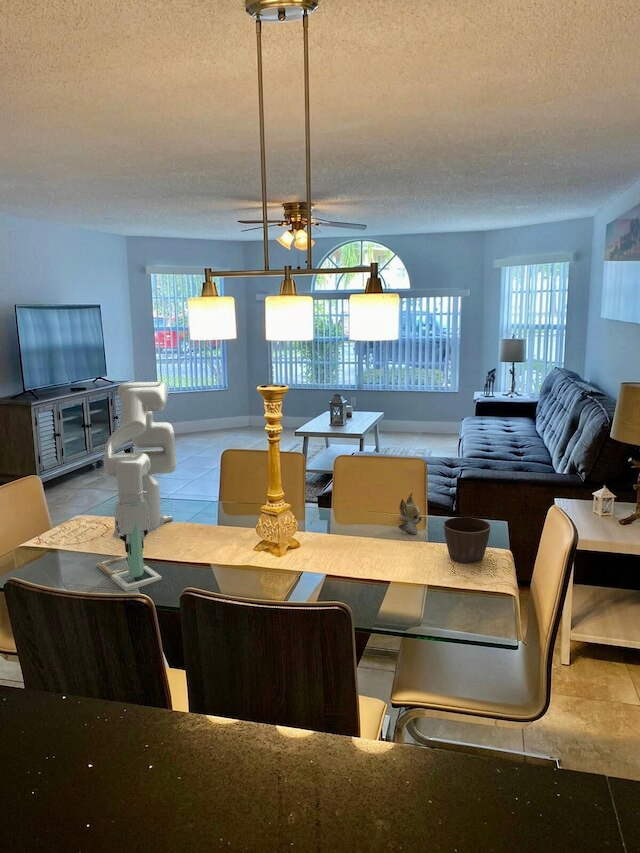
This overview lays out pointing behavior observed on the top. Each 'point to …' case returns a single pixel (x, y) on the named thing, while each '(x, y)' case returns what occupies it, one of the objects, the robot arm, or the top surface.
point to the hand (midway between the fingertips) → (134, 552)
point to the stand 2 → (134, 585)
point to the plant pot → (466, 539)
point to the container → (135, 552)
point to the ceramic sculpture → (409, 516)
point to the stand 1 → (103, 564)
